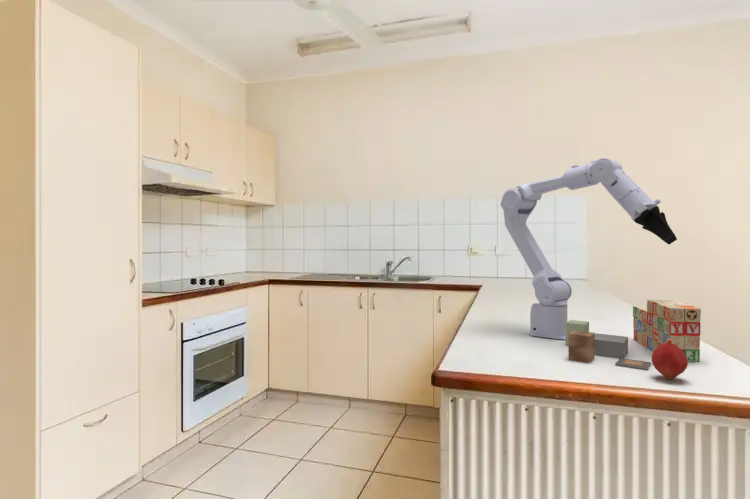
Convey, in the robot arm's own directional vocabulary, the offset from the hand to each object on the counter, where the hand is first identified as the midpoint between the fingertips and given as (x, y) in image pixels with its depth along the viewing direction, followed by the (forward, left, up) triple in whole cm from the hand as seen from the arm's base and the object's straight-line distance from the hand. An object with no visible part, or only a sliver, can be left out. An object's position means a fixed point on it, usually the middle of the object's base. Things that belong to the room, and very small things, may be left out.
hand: (670, 239), depth 100 cm
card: (-6, -12, -27) cm, 30 cm away
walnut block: (-16, -14, -27) cm, 34 cm away
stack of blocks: (-2, +6, -27) cm, 28 cm away
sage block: (-20, -1, -27) cm, 33 cm away
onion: (+1, -19, -27) cm, 33 cm away
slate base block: (-12, -5, -27) cm, 30 cm away
